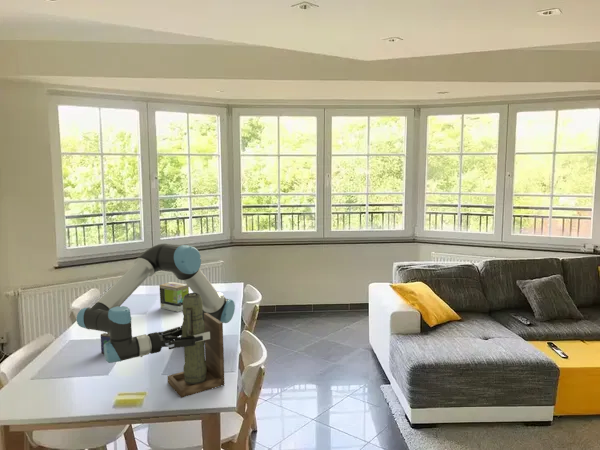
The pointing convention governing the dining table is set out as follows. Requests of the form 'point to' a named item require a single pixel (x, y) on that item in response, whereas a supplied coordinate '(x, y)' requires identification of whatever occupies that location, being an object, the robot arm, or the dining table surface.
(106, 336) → the flask
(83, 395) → the dining table surface
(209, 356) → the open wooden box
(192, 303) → the thermos
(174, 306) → the tea box
